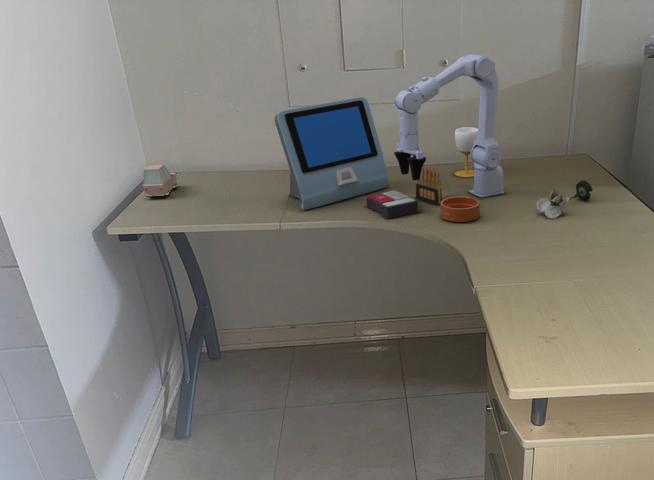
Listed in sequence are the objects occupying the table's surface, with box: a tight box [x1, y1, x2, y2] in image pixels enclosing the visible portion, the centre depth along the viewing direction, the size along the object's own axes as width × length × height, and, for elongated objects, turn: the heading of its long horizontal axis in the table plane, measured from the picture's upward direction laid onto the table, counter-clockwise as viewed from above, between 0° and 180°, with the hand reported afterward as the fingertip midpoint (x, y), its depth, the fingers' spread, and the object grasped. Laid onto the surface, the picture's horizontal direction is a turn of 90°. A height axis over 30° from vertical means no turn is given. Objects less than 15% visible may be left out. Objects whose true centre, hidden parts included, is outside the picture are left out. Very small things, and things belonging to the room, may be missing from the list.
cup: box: [454, 126, 478, 178], centre depth 234 cm, size 9×9×16 cm
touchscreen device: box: [274, 97, 389, 211], centre depth 214 cm, size 35×20×30 cm, turn 131°
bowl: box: [439, 196, 481, 223], centre depth 197 cm, size 12×12×4 cm
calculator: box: [366, 190, 419, 219], centre depth 205 cm, size 11×4×15 cm
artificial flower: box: [536, 180, 594, 219], centre depth 201 cm, size 9×22×10 cm, turn 130°
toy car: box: [142, 164, 178, 197], centre depth 226 cm, size 9×15×10 cm, turn 2°
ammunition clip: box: [415, 164, 443, 206], centre depth 209 cm, size 11×2×12 cm, turn 43°
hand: (410, 176), depth 202 cm, fingers open, 7 cm apart
